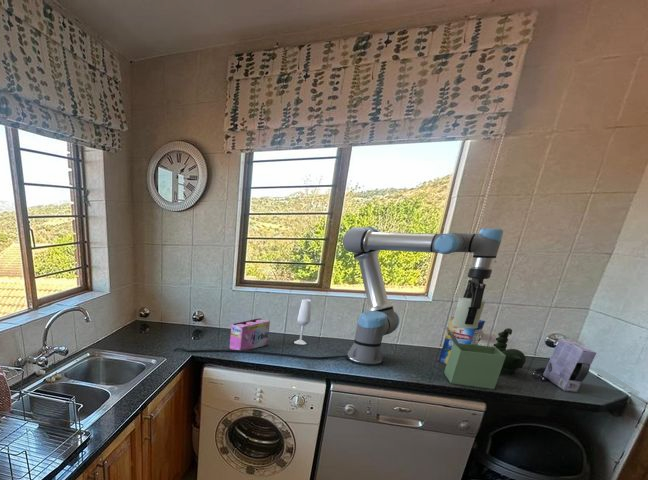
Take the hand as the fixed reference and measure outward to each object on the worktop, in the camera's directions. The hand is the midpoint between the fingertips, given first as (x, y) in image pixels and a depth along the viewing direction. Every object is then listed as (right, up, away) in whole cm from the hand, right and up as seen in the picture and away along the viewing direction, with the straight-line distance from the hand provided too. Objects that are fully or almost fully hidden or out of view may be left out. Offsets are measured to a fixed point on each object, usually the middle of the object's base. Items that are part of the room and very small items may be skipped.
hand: (465, 321), depth 174 cm
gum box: (-83, -8, +43) cm, 94 cm away
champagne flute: (-52, -5, +51) cm, 73 cm away
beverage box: (+11, -18, +20) cm, 29 cm away
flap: (-8, -7, -4) cm, 11 cm away
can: (0, -2, +1) cm, 2 cm away
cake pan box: (+38, -27, -3) cm, 47 cm away
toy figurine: (+28, -21, +14) cm, 38 cm away
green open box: (+1, -26, 0) cm, 26 cm away
